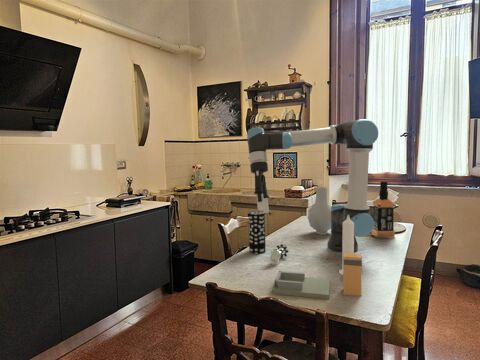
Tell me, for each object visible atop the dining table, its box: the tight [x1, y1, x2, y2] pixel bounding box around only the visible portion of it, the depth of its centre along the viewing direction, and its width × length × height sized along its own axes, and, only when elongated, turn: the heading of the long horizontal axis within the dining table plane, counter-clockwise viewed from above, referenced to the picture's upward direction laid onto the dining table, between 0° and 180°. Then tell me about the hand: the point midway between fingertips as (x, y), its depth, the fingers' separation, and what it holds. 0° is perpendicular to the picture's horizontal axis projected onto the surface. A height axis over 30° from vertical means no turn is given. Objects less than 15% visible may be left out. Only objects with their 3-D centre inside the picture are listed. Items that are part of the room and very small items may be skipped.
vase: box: [307, 186, 332, 236], centre depth 208 cm, size 17×16×28 cm
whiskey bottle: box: [371, 180, 396, 239], centre depth 199 cm, size 10×10×32 cm
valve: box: [270, 243, 290, 266], centre depth 162 cm, size 7×7×12 cm
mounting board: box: [272, 270, 331, 300], centre depth 131 cm, size 20×15×4 cm
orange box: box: [342, 252, 363, 297], centre depth 126 cm, size 6×5×14 cm
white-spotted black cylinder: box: [248, 210, 267, 255], centre depth 176 cm, size 8×8×20 cm
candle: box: [338, 215, 355, 276], centre depth 143 cm, size 7×7×25 cm
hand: (263, 211), depth 146 cm, fingers open, 13 cm apart
